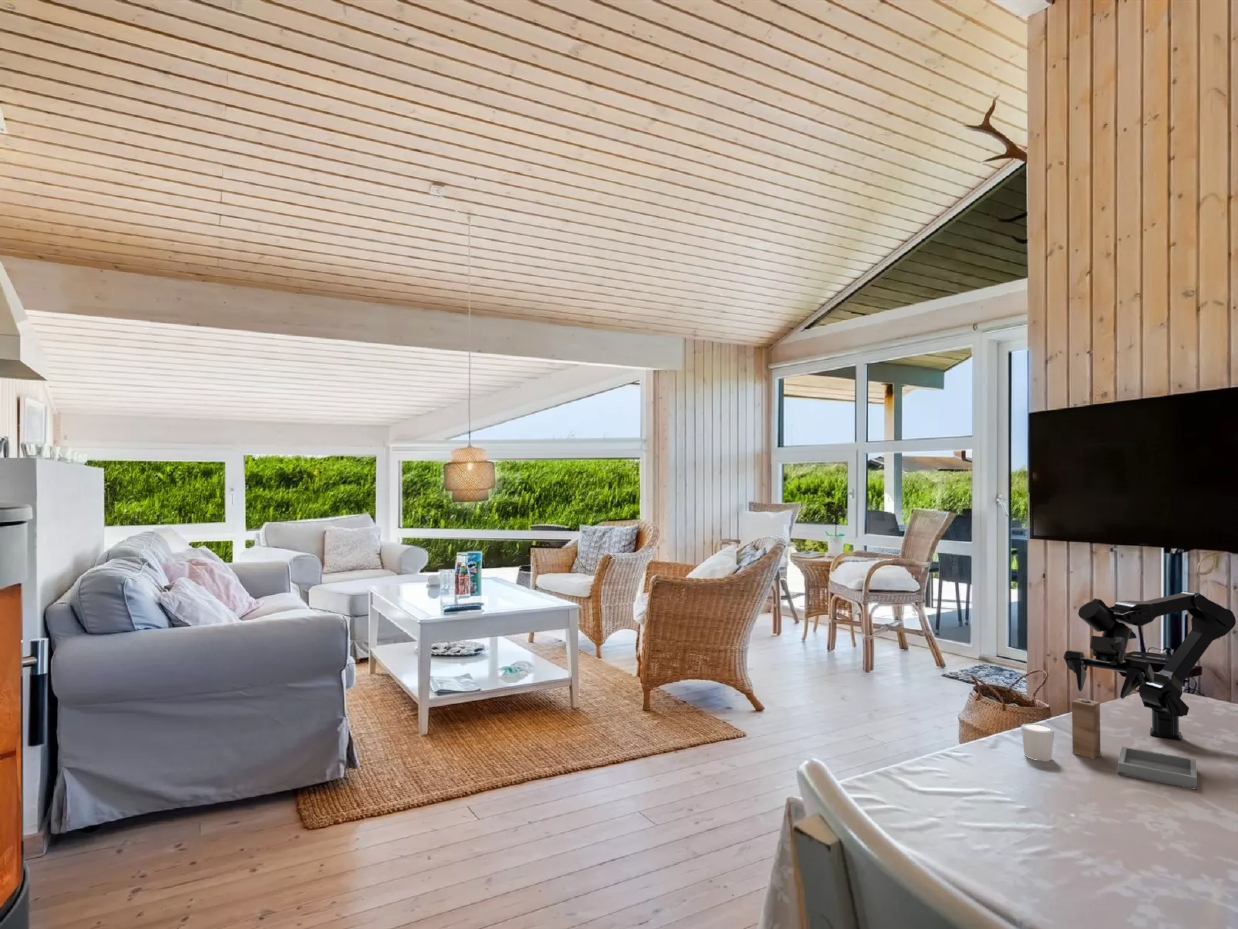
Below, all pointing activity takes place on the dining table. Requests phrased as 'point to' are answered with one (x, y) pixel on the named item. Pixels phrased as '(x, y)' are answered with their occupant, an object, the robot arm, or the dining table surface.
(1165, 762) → the grey tray
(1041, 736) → the white cup
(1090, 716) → the walnut block
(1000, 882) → the dining table surface
